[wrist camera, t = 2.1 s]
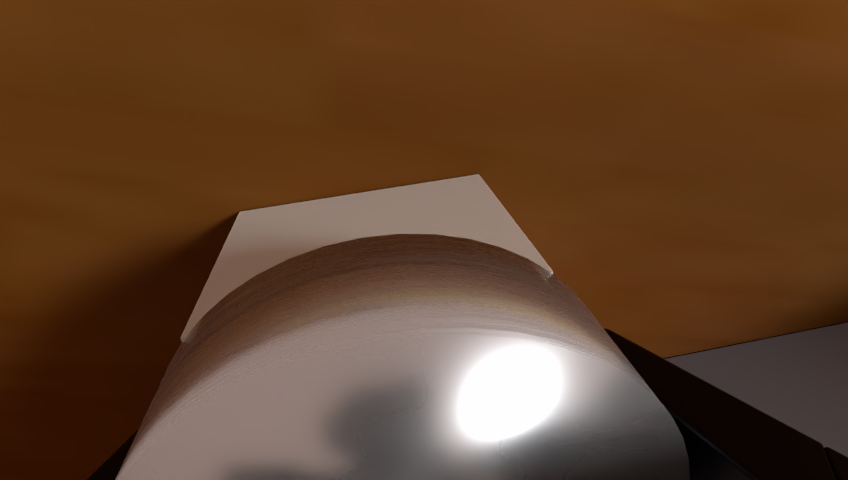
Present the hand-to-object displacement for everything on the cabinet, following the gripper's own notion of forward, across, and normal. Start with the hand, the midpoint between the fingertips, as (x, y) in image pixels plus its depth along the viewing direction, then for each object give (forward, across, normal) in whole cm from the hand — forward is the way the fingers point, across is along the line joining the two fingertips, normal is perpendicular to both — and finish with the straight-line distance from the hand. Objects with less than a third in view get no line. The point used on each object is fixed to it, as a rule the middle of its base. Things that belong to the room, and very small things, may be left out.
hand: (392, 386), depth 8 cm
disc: (-1, 0, 0) cm, 1 cm away
